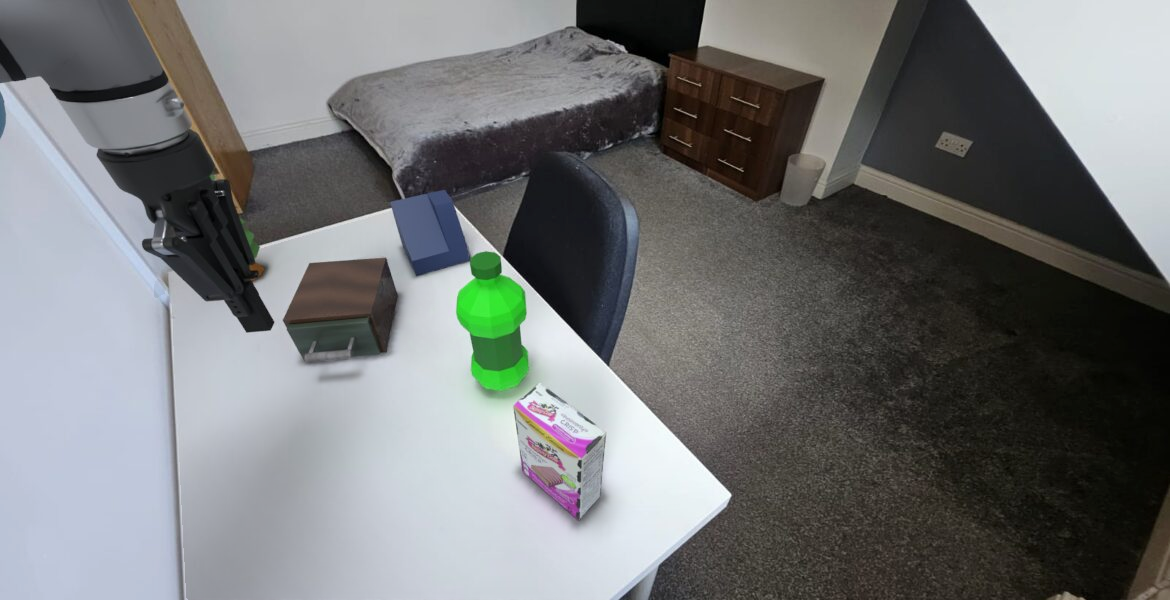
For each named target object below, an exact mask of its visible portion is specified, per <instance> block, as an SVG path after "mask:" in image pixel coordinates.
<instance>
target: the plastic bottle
mask: <svg viewBox="0 0 1170 600" xmlns="http://www.w3.org/2000/svg"><path fill="white" fill-rule="evenodd" d="M469 259H470V261H469V267H470V273H471V276H472V277H474V278H472V279H471V280H470V281H468V282H467V283H466V284H465V285H464V286H463V287H462V288H460V289H459V291H458V293H457V298H456V306H455V307H456V308H455V314H456V318H457V320H458V323H459V324H460V325H461V326H462V327H463V328H464V329H465V330H466V331H467V332H468V333H469V337H470V343H471V348H472V353H471V354H472V355H471V358H470V359H471V360H470V372H471V376H472V377H473V378H474V379H475V380H476V381H477V382H478V383H479V384H480V385H481V386H482V387H483V388H484V389H487V390H493V391H501V392H503V391H507V390H509V389H512V388H515V387H516V386H518V385H520V383H521V382H522V381H523V379H524V378H525V377H526V376H527V375H528V373H529V371H530V363H529V362H530V359H529V351H528V349H527V348H526V347H525V346H524V345H523V344H522V343H523V342H522V333H521V325H522V324H523V323H524V321H525V320H526V318H527V313H528V311H527V300H526V299H527V298H526V291H525V290H524V288H523V287H522V286H521V285H520V284H519V283H517V282H516V281H515V280H514V279H513V278H511V277H510V276H506V275H503V274H502V272H503V271H502V270H503V266H502V259H501V255H499V254H498V253H496V252H495V251H487V250H484V251H480V252H477V253H475V254H474V255H473V256H471V257H469Z"/></svg>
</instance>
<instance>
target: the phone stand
mask: <svg viewBox="0 0 1170 600" xmlns="http://www.w3.org/2000/svg"><path fill="white" fill-rule="evenodd" d="M389 204H390V207H391V211H392V215H393V218H394V222H395V225H396V228H397V232H398V235H399V239H400V242H401V246H402V249H403V251H404V253H405V256H406V258H407V260H408V262H409V264H410V265H411V268H412V271H413V272H414V275H415V277H418V276H422V275H425V274H429V273H432V272H435V271H440V270H442V269H446V268H449V267H453V266H457V265H461V264H463V263H467V262H470V255H469V247H468V244H467V241H466V238H465V235H464V231H463V229H462V225H461V222H460V219H459V216H458V213H457V210H456V207H455V204H454V200H452V197H450V195H449V193H447V190H445V189H442V190H437V191H432V192H428V193H424V194H419V195H415V196H414V195H413V196H410V197H405V198H401V199H396V200H392V201H389Z"/></svg>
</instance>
